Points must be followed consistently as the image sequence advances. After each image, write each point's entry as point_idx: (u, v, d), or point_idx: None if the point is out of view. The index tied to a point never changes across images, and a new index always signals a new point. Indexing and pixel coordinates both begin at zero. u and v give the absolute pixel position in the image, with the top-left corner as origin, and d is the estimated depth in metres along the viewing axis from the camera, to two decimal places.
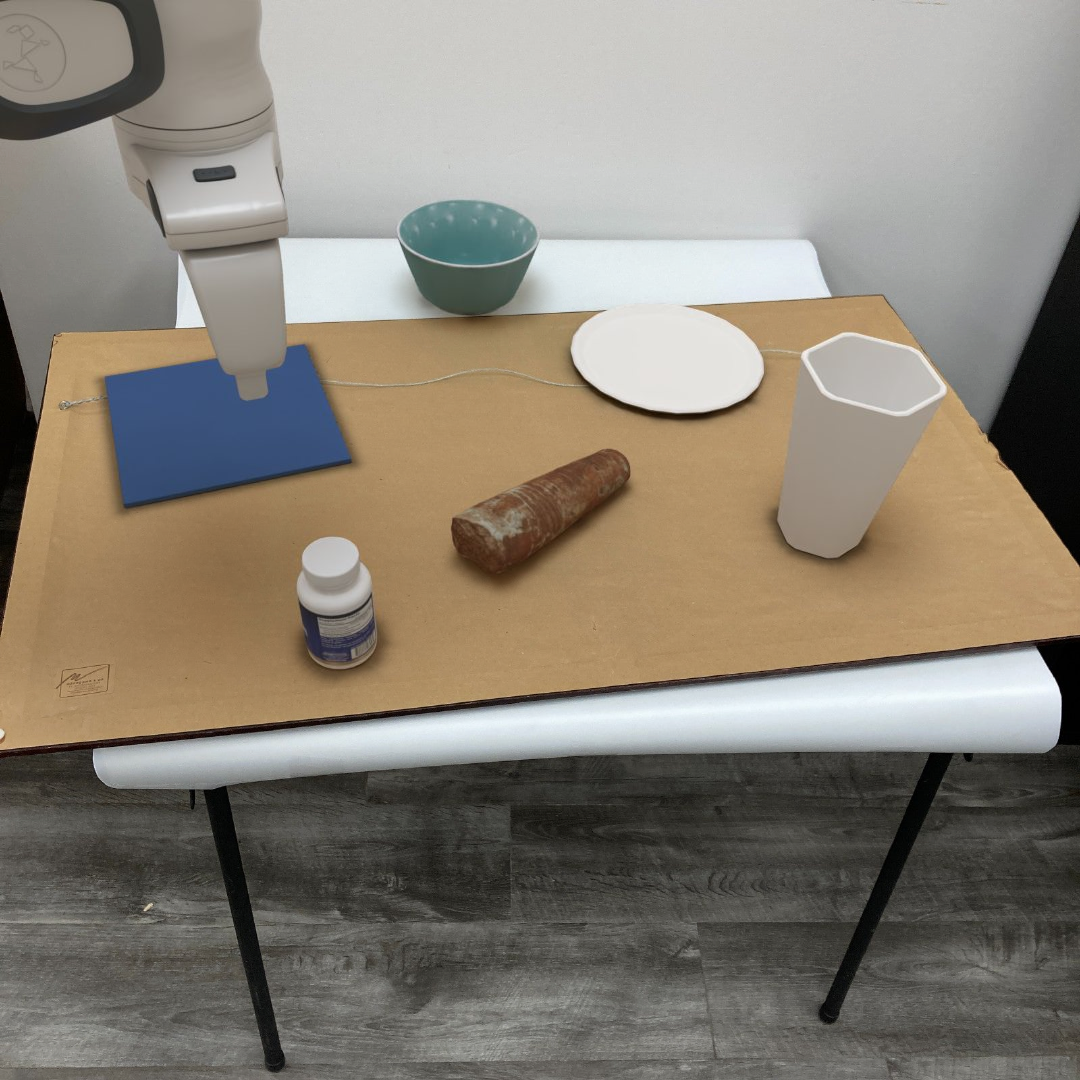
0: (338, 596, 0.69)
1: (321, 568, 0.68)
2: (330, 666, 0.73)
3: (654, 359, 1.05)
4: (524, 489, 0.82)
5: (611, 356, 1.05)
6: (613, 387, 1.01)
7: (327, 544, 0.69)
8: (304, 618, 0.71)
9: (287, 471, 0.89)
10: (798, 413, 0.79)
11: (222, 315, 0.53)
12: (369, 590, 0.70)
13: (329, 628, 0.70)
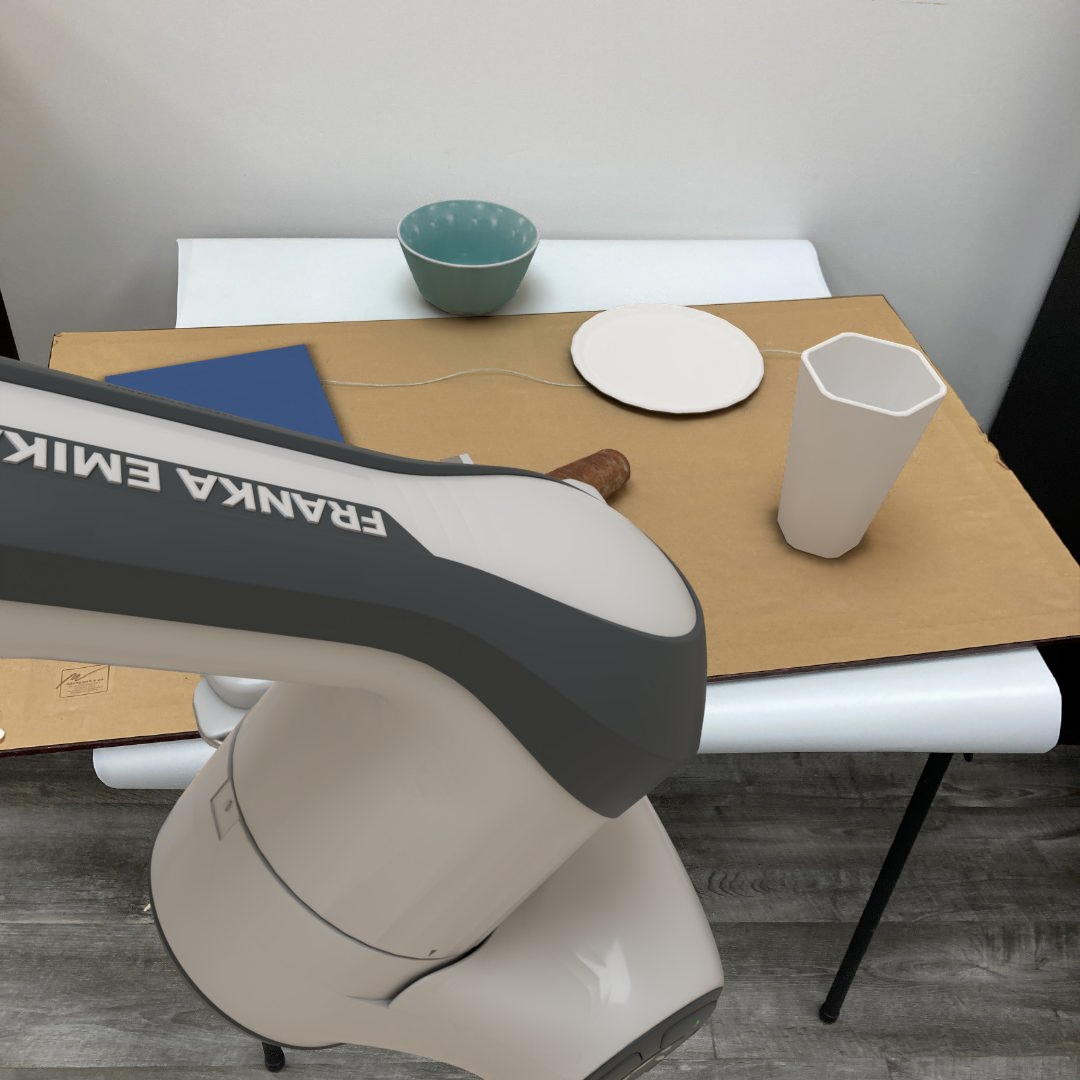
0: None
1: None
2: None
3: (654, 359, 1.05)
4: None
5: (611, 356, 1.05)
6: (613, 387, 1.01)
7: None
8: None
9: None
10: (798, 413, 0.79)
11: None
12: None
13: None
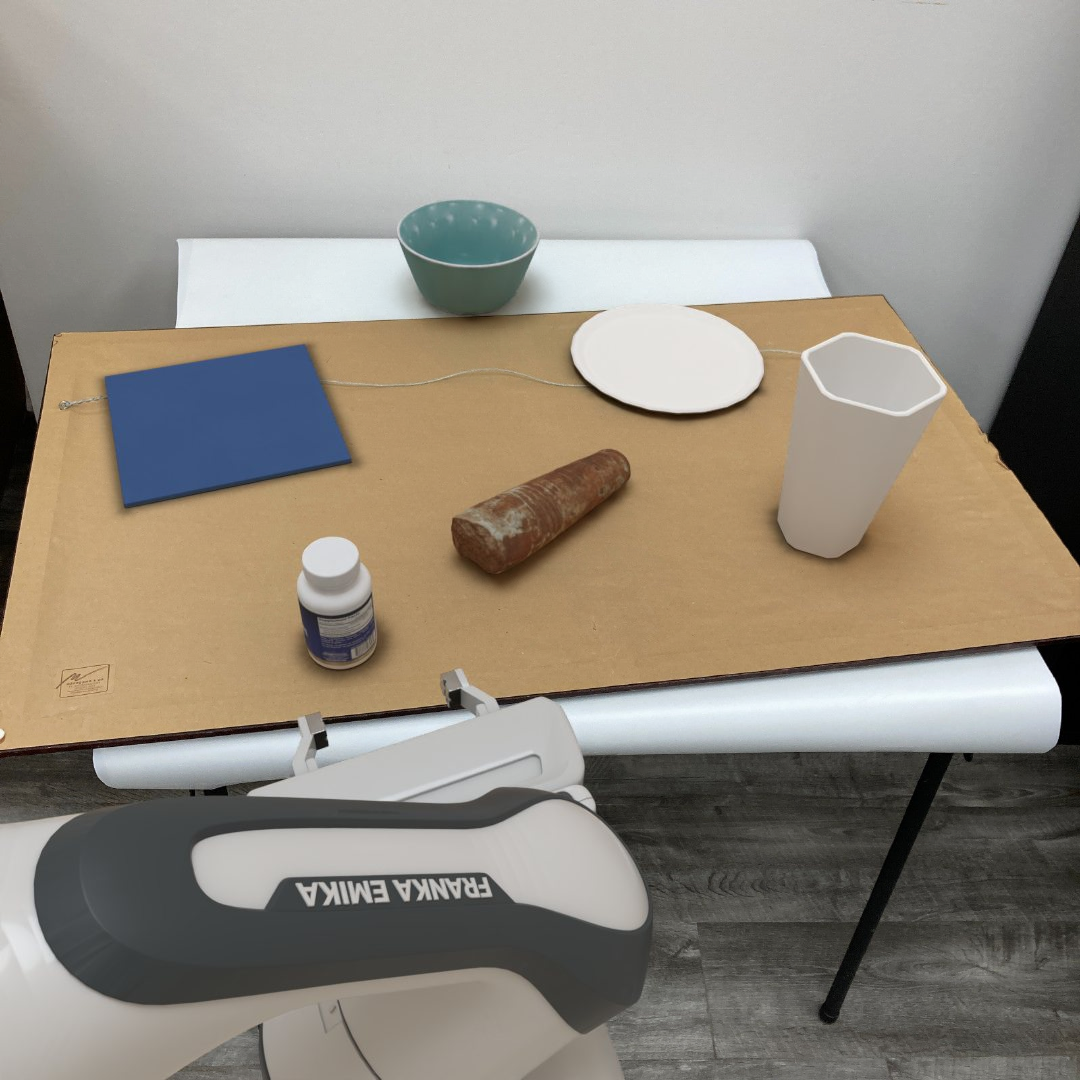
0: (338, 596, 0.69)
1: (321, 568, 0.68)
2: (330, 666, 0.73)
3: (654, 359, 1.05)
4: (524, 489, 0.82)
5: (611, 356, 1.05)
6: (613, 387, 1.01)
7: (327, 544, 0.69)
8: (304, 618, 0.71)
9: (287, 471, 0.89)
10: (798, 413, 0.79)
11: None
12: (369, 590, 0.70)
13: (329, 628, 0.70)
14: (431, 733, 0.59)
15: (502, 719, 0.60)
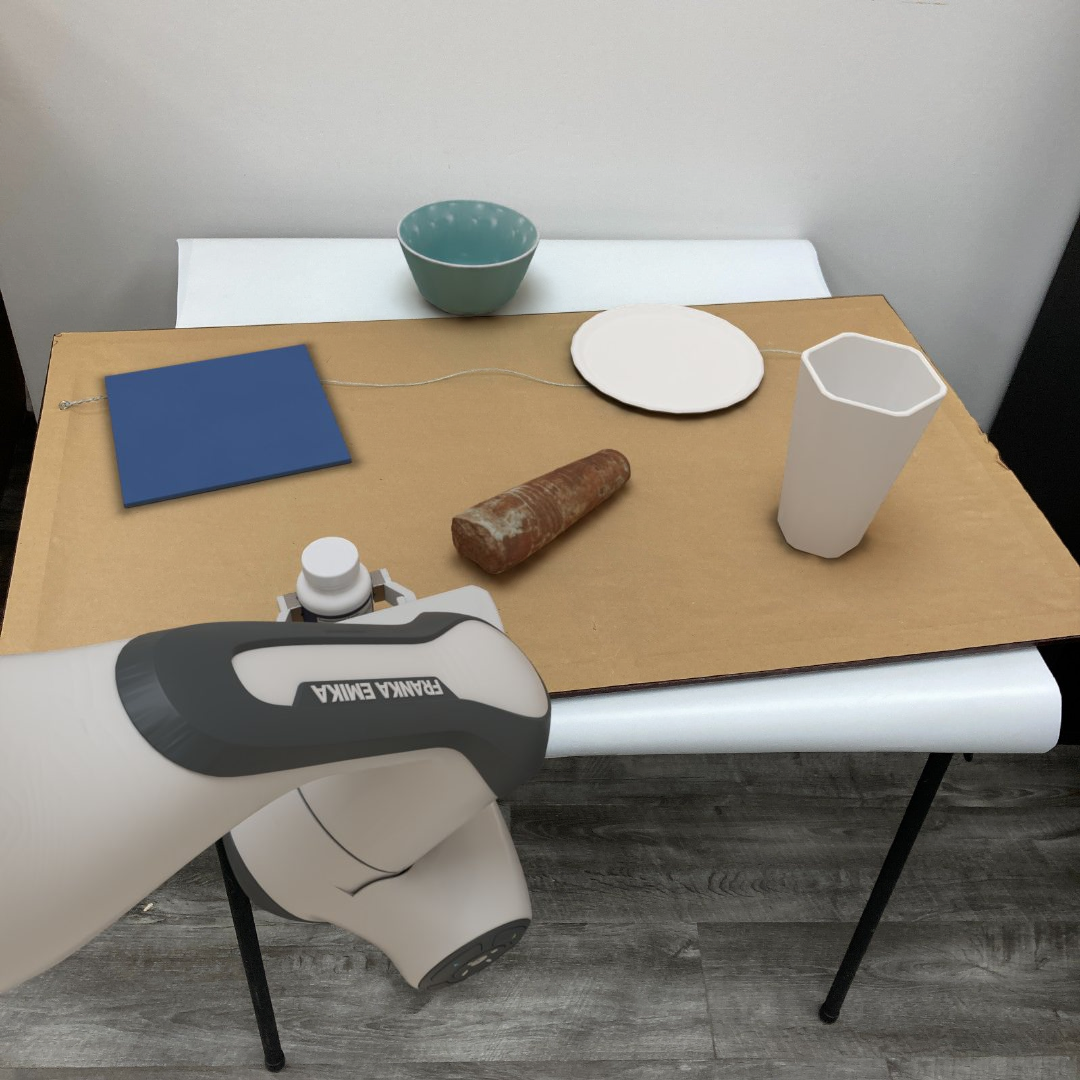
0: (338, 596, 0.69)
1: (320, 568, 0.68)
2: None
3: (654, 359, 1.05)
4: (524, 489, 0.82)
5: (611, 356, 1.05)
6: (613, 387, 1.01)
7: (326, 544, 0.69)
8: (304, 618, 0.71)
9: (287, 471, 0.89)
10: (798, 413, 0.79)
11: None
12: (369, 590, 0.70)
13: None
14: (374, 612, 0.68)
15: (436, 602, 0.69)
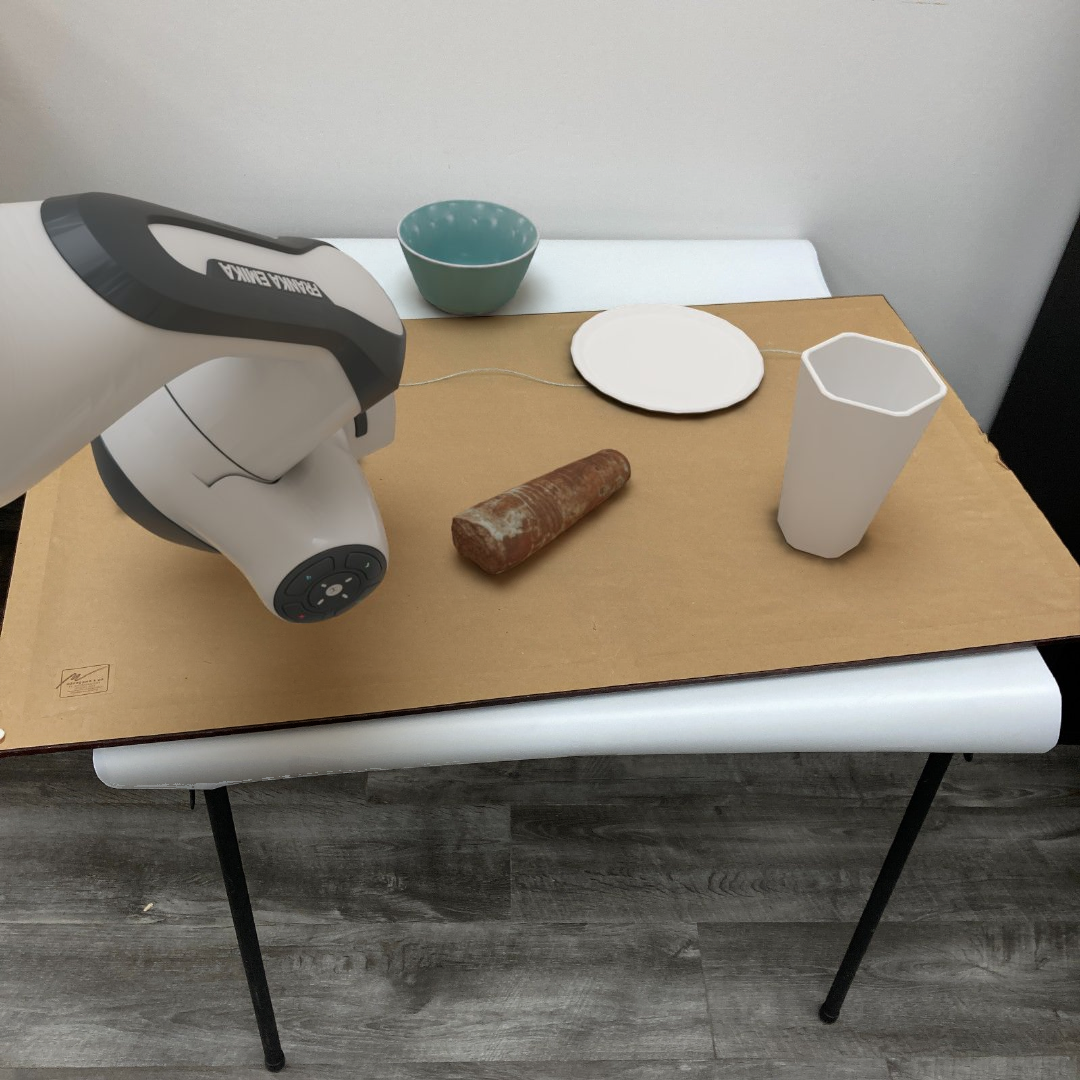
0: None
1: None
2: None
3: (654, 359, 1.05)
4: (524, 489, 0.82)
5: (611, 356, 1.05)
6: (613, 387, 1.01)
7: None
8: None
9: None
10: (798, 413, 0.79)
11: None
12: None
13: None
14: None
15: None
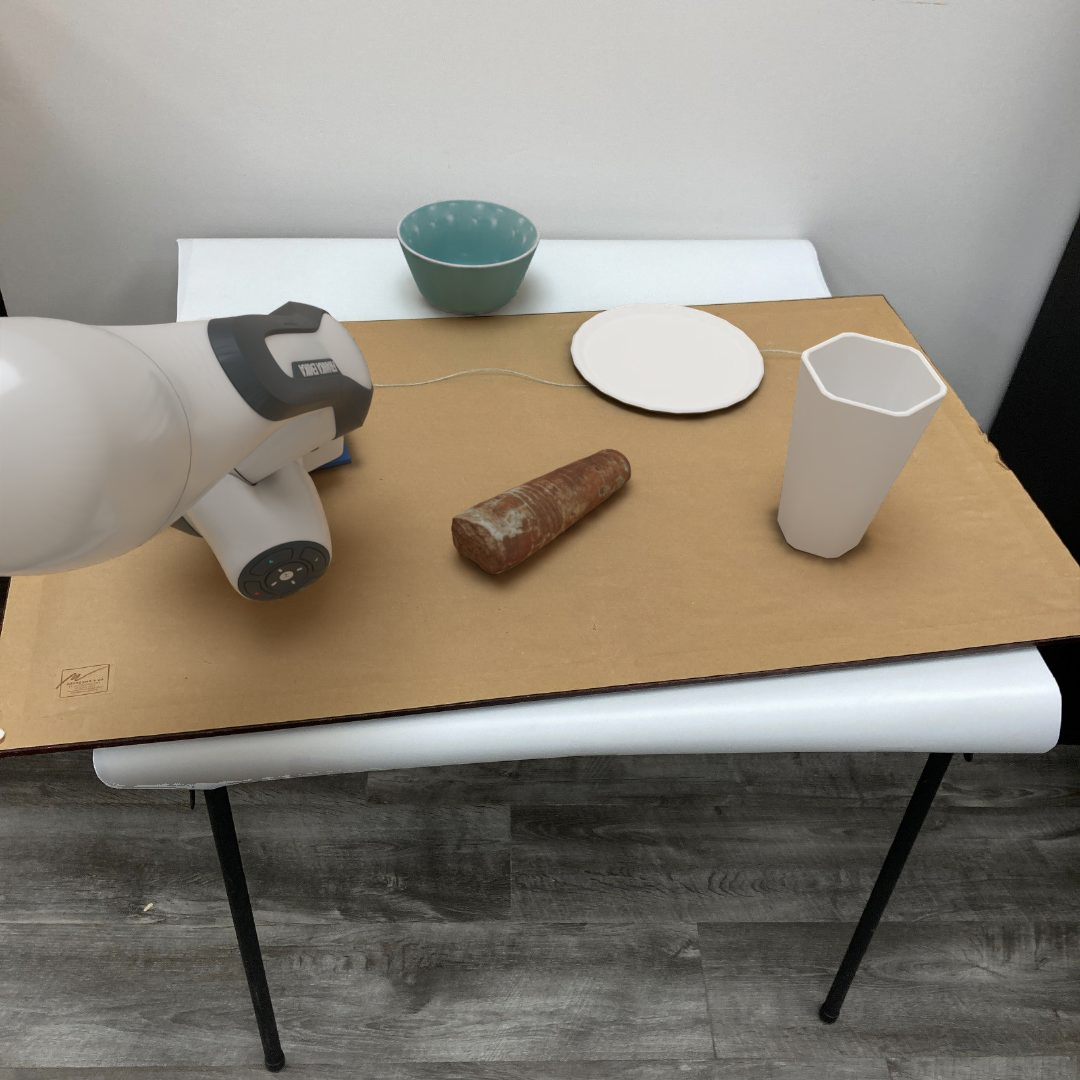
0: None
1: None
2: None
3: (654, 359, 1.05)
4: (524, 489, 0.82)
5: (611, 356, 1.05)
6: (613, 387, 1.01)
7: None
8: None
9: None
10: (798, 413, 0.79)
11: None
12: None
13: None
14: None
15: None
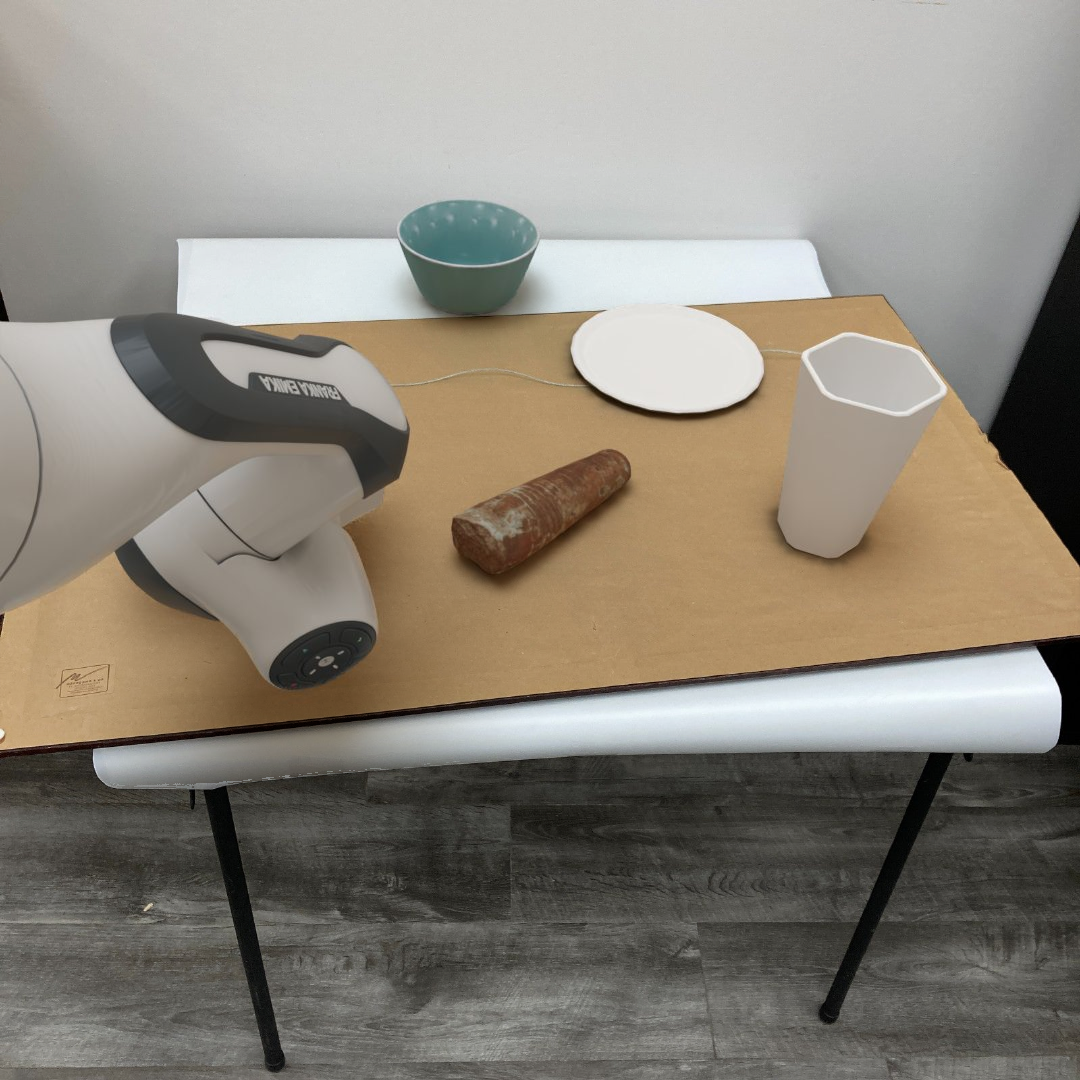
0: None
1: None
2: None
3: (654, 359, 1.05)
4: (524, 489, 0.82)
5: (611, 356, 1.05)
6: (613, 387, 1.01)
7: None
8: None
9: None
10: (798, 413, 0.79)
11: None
12: None
13: None
14: None
15: None
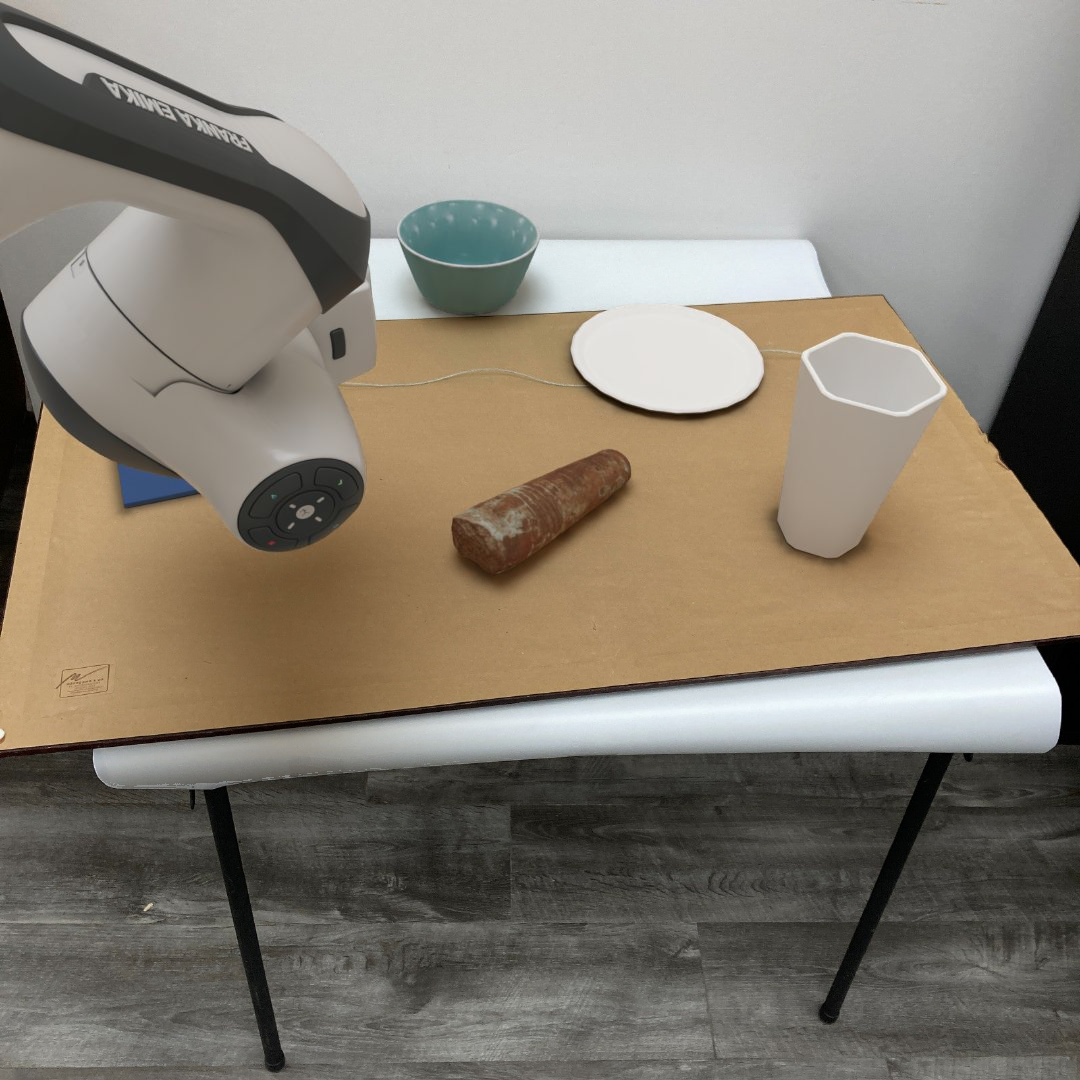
0: None
1: None
2: None
3: (654, 359, 1.05)
4: (524, 489, 0.82)
5: (611, 356, 1.05)
6: (613, 387, 1.01)
7: None
8: None
9: None
10: (798, 413, 0.79)
11: None
12: None
13: None
14: None
15: None
